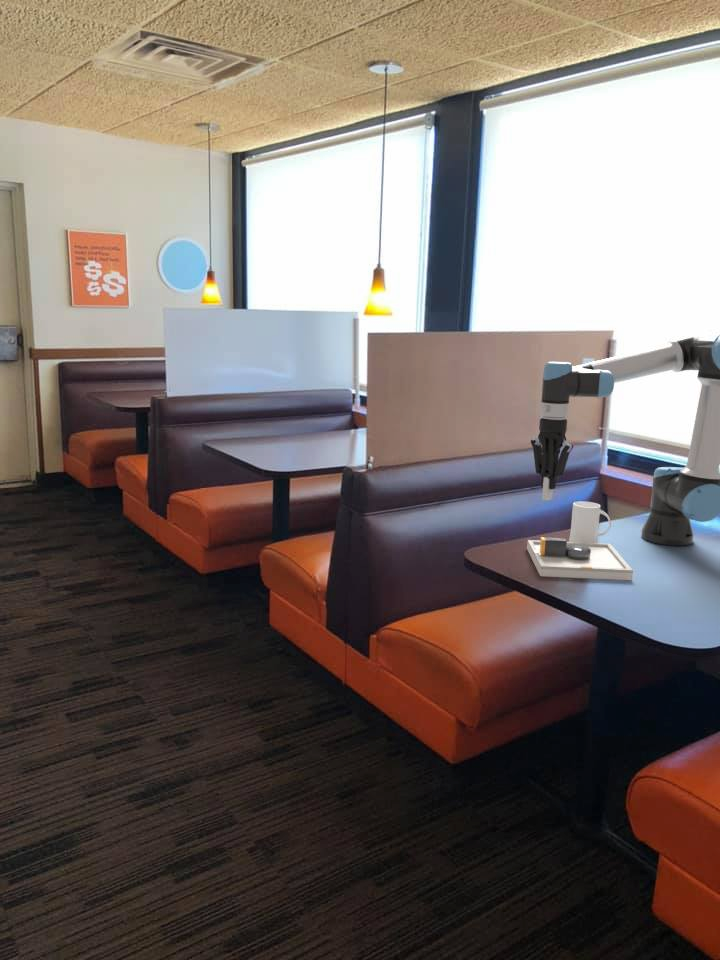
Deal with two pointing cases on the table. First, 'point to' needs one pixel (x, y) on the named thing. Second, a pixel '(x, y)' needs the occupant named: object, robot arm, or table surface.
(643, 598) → the table surface
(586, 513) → the mug
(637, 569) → the table surface
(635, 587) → the table surface
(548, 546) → the dark grey handled piece
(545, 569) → the white square tray
